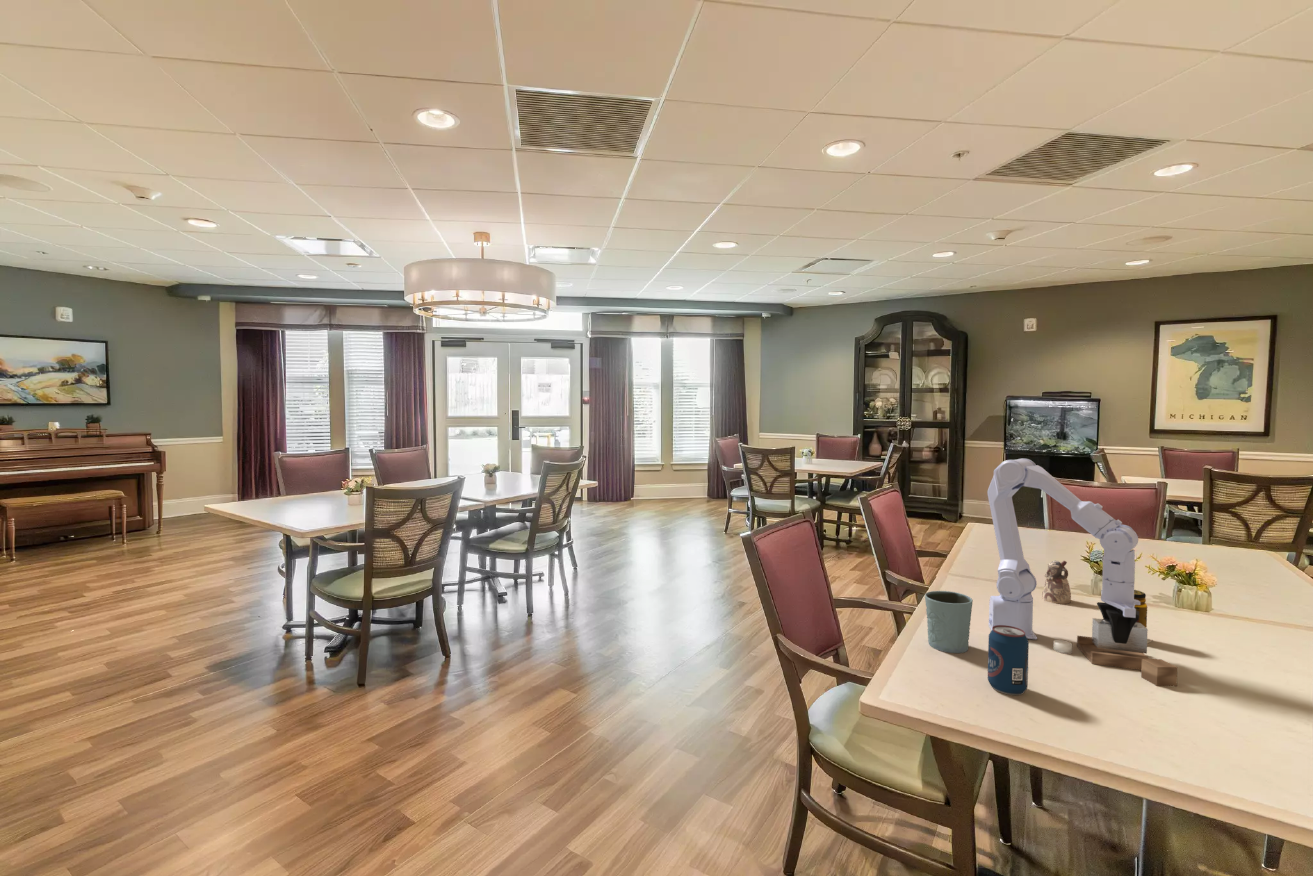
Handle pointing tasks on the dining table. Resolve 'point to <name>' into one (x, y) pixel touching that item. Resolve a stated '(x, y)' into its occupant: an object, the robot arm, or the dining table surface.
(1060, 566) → the figurine
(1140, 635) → the block
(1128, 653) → the stand
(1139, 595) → the condiment
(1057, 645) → the plastic cap
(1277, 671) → the dining table surface
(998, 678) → the soda can
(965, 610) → the green embossed planter
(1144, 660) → the walnut block
